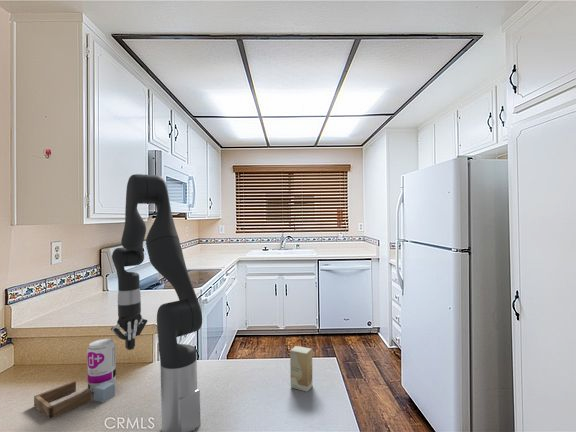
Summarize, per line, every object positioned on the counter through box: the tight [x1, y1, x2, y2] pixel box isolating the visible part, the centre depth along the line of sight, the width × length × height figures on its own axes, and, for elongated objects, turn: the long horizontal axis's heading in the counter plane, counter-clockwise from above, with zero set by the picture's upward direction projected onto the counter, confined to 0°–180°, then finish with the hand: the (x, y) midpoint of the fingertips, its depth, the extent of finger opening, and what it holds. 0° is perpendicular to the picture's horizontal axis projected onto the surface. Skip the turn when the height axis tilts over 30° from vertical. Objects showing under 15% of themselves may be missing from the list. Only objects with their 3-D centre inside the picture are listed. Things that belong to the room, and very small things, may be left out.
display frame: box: [33, 380, 92, 420], centre depth 98 cm, size 12×11×3 cm
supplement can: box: [86, 338, 117, 393], centre depth 108 cm, size 8×8×15 cm
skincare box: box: [289, 345, 313, 393], centre depth 103 cm, size 6×4×12 cm
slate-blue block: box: [93, 382, 116, 403], centre depth 100 cm, size 4×4×4 cm
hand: (130, 349), depth 116 cm, fingers closed
